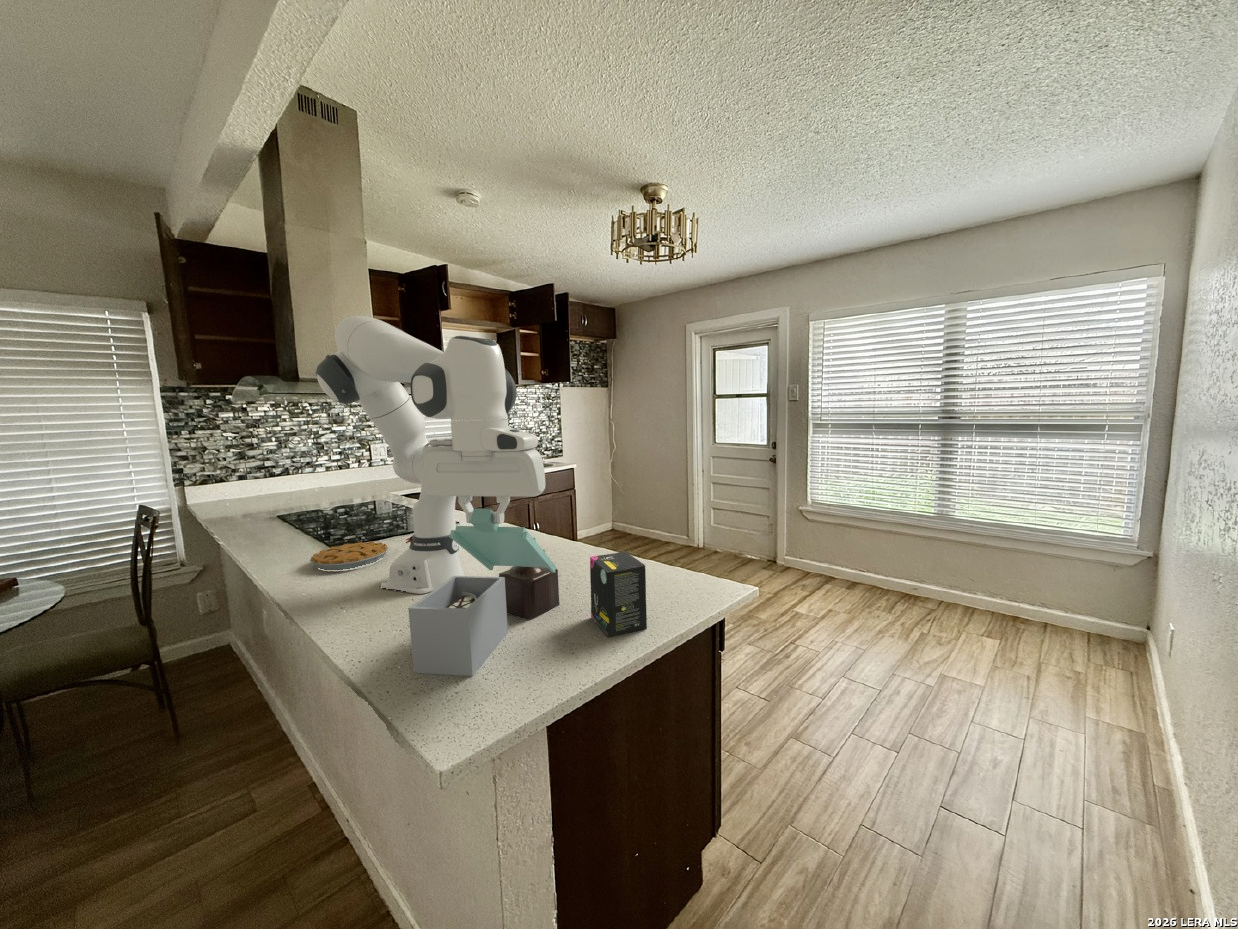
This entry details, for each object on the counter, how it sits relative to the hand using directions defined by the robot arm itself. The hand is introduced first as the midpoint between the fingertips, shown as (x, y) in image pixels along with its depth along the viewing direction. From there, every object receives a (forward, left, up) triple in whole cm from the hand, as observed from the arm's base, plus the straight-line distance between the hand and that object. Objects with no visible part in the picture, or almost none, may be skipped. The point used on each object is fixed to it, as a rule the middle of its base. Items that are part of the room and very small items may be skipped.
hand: (485, 522), depth 76 cm
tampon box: (+17, +27, -30) cm, 44 cm away
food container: (-12, +12, -30) cm, 34 cm away
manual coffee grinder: (-7, +31, -30) cm, 43 cm away
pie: (-77, +62, -30) cm, 103 cm away
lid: (0, +6, -7) cm, 9 cm away
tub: (-12, +12, -30) cm, 34 cm away
